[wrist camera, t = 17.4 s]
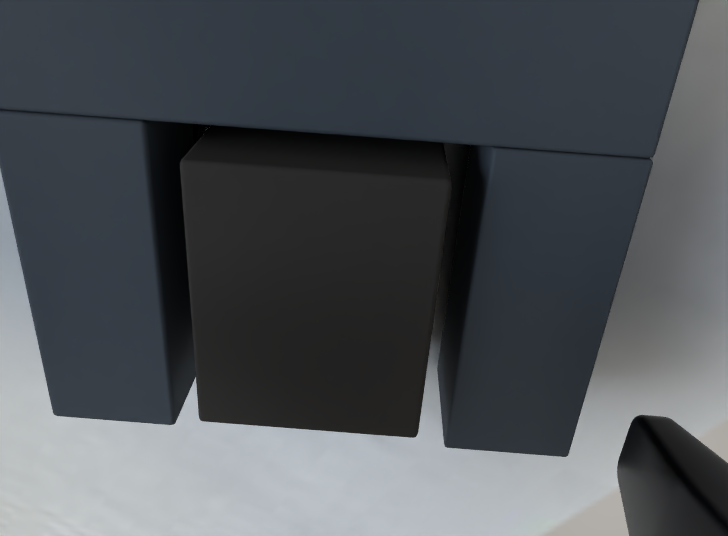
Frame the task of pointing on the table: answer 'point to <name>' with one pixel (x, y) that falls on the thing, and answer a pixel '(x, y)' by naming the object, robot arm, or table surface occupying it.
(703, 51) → the table surface
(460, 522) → the table surface
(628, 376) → the table surface
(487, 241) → the slotted block
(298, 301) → the black rectangular block
